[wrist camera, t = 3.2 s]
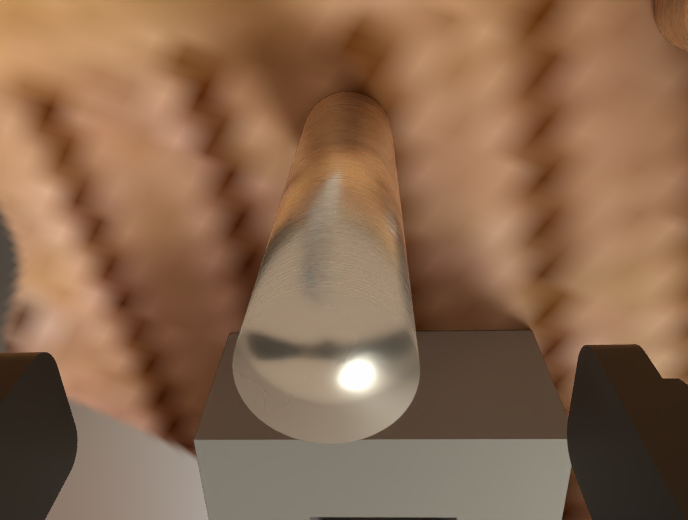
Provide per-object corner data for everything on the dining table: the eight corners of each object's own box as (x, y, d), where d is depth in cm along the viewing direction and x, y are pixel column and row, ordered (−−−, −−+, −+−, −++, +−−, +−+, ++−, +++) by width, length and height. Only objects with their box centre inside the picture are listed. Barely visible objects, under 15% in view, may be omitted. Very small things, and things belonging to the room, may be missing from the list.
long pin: (392, 90, 21) (422, 291, 9) (391, 176, 22) (418, 443, 11) (301, 92, 21) (221, 293, 10) (306, 178, 22) (243, 443, 11)
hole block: (532, 330, 25) (576, 439, 20) (506, 538, 31) (535, 667, 25) (229, 333, 26) (193, 439, 20) (258, 537, 31) (236, 663, 26)
